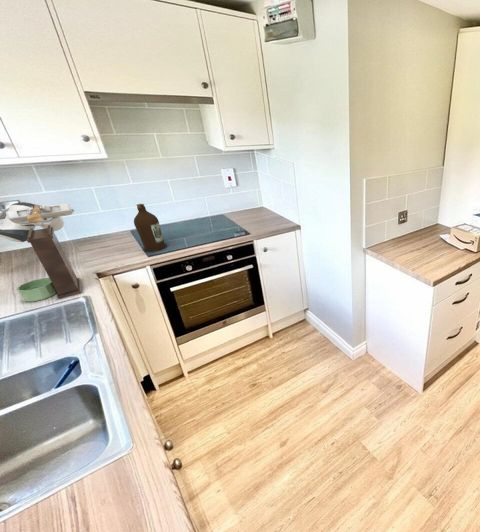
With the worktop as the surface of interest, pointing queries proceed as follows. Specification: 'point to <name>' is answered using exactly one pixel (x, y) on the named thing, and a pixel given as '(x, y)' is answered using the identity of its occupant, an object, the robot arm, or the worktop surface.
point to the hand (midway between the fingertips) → (36, 207)
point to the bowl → (37, 289)
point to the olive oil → (149, 229)
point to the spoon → (35, 215)
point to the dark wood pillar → (54, 261)
